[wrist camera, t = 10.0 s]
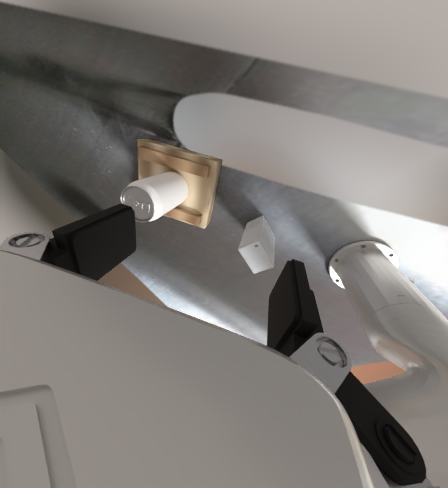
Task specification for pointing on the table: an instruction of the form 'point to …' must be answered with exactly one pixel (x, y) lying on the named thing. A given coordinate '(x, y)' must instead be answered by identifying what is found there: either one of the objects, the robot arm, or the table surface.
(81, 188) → the table surface
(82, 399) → the robot arm
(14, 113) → the table surface
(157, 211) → the can
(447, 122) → the table surface
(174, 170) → the plinth
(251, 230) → the skincare box
